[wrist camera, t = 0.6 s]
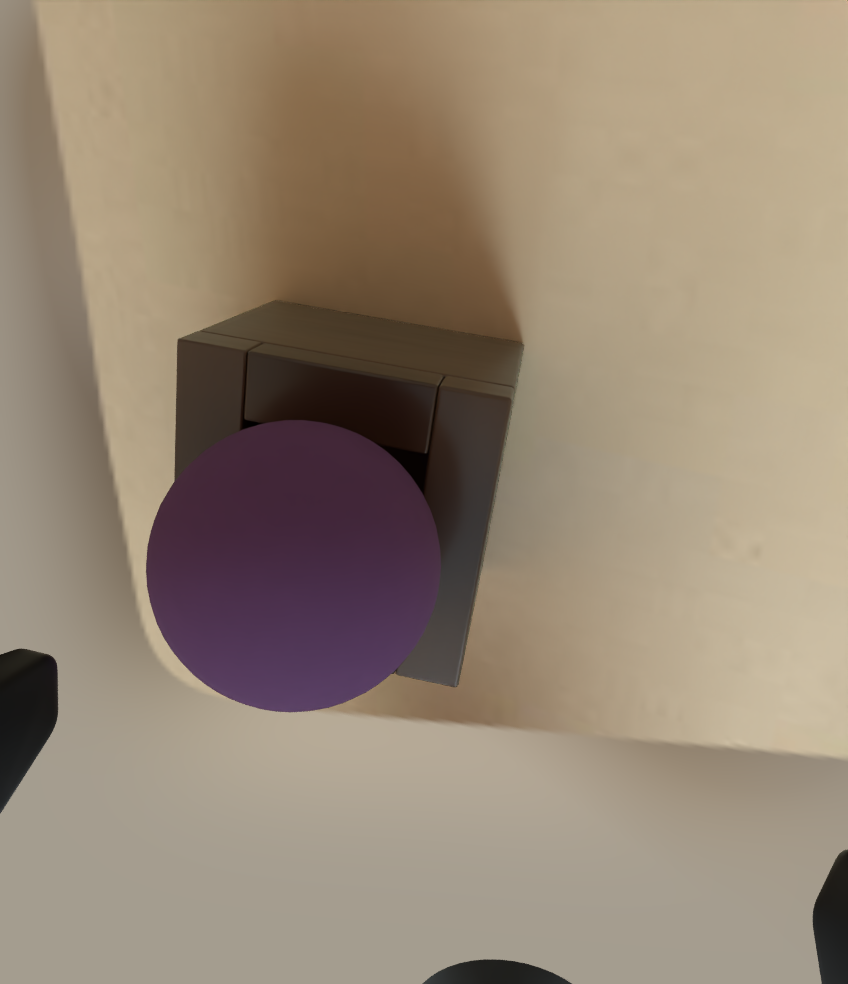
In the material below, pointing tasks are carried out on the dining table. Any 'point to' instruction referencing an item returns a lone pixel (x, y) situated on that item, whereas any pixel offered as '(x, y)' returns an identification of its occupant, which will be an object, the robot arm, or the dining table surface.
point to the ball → (293, 566)
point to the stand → (371, 423)
